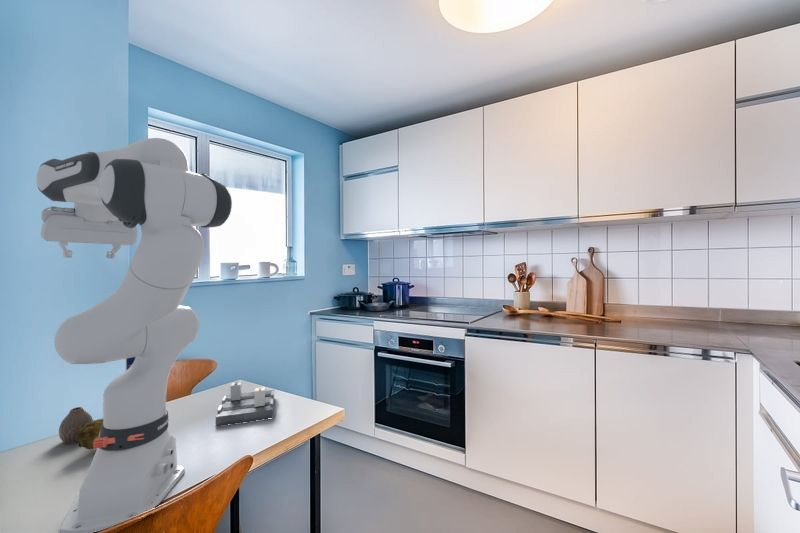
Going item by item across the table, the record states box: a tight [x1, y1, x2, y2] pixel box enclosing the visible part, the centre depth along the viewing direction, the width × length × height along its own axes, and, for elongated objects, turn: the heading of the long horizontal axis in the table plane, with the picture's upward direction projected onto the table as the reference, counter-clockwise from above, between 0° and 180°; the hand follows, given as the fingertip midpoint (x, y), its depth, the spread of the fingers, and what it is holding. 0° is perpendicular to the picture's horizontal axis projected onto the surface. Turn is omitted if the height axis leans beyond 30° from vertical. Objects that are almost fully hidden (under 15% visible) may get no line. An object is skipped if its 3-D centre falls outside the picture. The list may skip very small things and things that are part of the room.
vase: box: [58, 406, 94, 445], centre depth 93 cm, size 7×7×9 cm
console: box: [215, 389, 275, 427], centre depth 112 cm, size 18×16×4 cm
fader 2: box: [254, 386, 266, 407], centre depth 110 cm, size 3×3×5 cm
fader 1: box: [230, 381, 242, 401], centre depth 115 cm, size 3×3×5 cm
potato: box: [76, 418, 103, 450], centre depth 90 cm, size 8×13×8 cm, turn 142°
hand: (89, 257), depth 98 cm, fingers open, 8 cm apart
